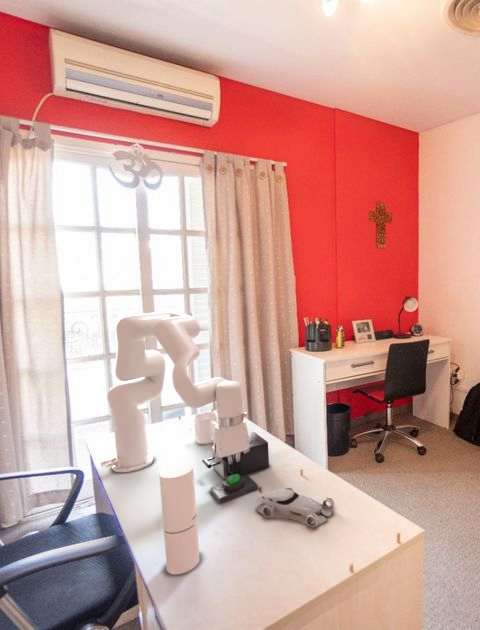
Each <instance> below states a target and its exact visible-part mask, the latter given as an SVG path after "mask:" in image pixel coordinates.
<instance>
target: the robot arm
mask: <svg viewBox="0 0 480 630" xmlns="http://www.w3.org/2000/svg"><path fill="white" fill-rule="evenodd" d="M200 328H201V327H200V323H199V322H198V320H197V319H195V317H193V316H191V315H188V314H185V313H184V314H183V313H178V312H173V311H157V312H147V313H138V314H131V315H126V316H123V317H121V318H119V319H118V321H117V322H116V323H115V327H114V331H115V332H114V334H115V338H116V356H115V365H114V368H115V369H114V371H115V372H114V373H115V377H116V378H117V379H118V380H119V381H121V382H120V383H118V384H115V385H114V386H112V387H111V388H110V389H109V390H108V391H107V402H108V405H109V409H110V410H111V411H110V412H111V415H112V422H113V431H114V441H115V451H116V452H115V454H114V457H111V458H110V459H105V460H101V461H100V465H101V467H106V468H110V467H112V471H114V472H116V473H130V472H134V471H138V470H142V469H143V468H146V467H148V466H150V465H151V464H152V463H153V461H154V456H153V455H152V454H149V450H148V438H147V425H146V418H145V414H144V413H143V412H142V411H141V409H139V408H138V406H141V405H143V404H146V403H149V402H152V401H155V400H157V399H159V398H160V397H161V395H162V393H163V390H164V381H165V373H166V361H165V358H164V356H163V354H162V353H161V352H160V351H158V350H154V349H149V350H148V349H147V343H146V340H145V339H150V338H154V337H155V338H156V341H158V343H159V344H160V346H161V347H162V348H163V350H164V351H165V353H166V354H167V355H168V357H169V358H170V360H171V361H172V363H173V369H172V384H173V388H174V390H175V391H176V393H177V394H178V397H180V399H181V400H182V402H184V404H185V405H186V406H188V407H189V408H192V409H199V408H202V407H204V406H207V405H209V404H210V405H211V404H212V403H216V413H217V419H218V425H216V426H215V430H214V442H213V447H214V453H216V455H215V460H216V461H223V460H224V461H225V462H227V463H228V472H230V473H231V474H232V475H234V474H238V469H239V461H240V458H241V457H242V455H243V454H245V453H247V452H248V451H249V450H250V449H249V436H248V434H249V431H248V426H247V423H246V420H245V419H244V418H246V417H248V413H247V412H244V411H243V397H242V396H243V395H242V385H241V383H240V382H238V381H235V380H227V379H226V378H223V377H213V378H210V379H205V380H203V381H200V382H196V383H194V381H193V380H192V379H191V377H190V375H189V373H188V367H189V366H190V365H191V364H192V363H194V362H195V361H196V360H197V359H198V357H199V356H200V353H201V352H200V349H199V348H198V346H197V344H196V343H195V342H194V340H193V339H195V338H196V337H198V336H199V334H200V331H201V329H200ZM233 454H234V455H233ZM231 455H233V459H232V457H231Z"/></svg>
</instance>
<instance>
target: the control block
mask: <svg viewBox="0 0 480 630" xmlns="http://www.w3.org/2000/svg"><path fill="white" fill-rule="evenodd" d="M258 489H259V487H258V483H256V482H255V481H254V479H252V478H251V477H250V476H249V474H247V475H244V476H240V481H239V482H238V483H235V484H228V478H227V479H226V478H225V479H224V480H223V481H222V482H221V483H218V484H215V485H213V486H210V493H211V495H213V496H214V498H215V499H216V500H217V501H218V503H219V504H223V503H224V502H227V501H231V500H233V499H236V498H238V497H241V496H244V495H246V494H248V493H252V492H254V491H256V490H258Z"/></svg>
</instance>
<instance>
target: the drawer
mask: <svg viewBox="0 0 480 630" xmlns="http://www.w3.org/2000/svg"><path fill="white" fill-rule="evenodd" d="M211 455H212V457H209V458H203V459H202V460H201V463H203V464H204V465H205V466H206V468H207V469H211V468H212V467H213V469H214V470H215V471H216V472H217V473H218V474H219V475H220V476H221V477H222V479H224V480H225V479H226V478H227V462H225V461H224V460H223V461H216V460H215V455H216V453H214V446H211ZM209 461H212V463H211V462H209Z"/></svg>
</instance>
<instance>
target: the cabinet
mask: <svg viewBox="0 0 480 630" xmlns="http://www.w3.org/2000/svg"><path fill="white" fill-rule="evenodd" d="M248 436H249V449H250V450H249V451H248V452H247V453H245V454H243V455H242V457H241V458H240V461H239V469H238V475H239V476H244V475H249V474H252V473H255V472H258V471H261V470H264V469H267V468H269V467H270V457H269V456H270V455H269V453H270V452H269V442H268V441H267V440H265V438H263V437H262V436H260V435H259V434H257V432H254V431H253V432H250V433H249V432H248ZM233 455H234V454H233ZM233 455H231V457H232V459H233ZM230 475H232V474H231V473H230V472H228V463H227V478H228V477H229V476H230ZM227 478H225V479H227Z"/></svg>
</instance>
